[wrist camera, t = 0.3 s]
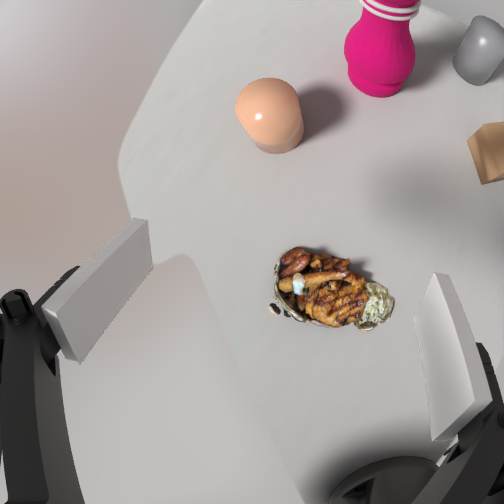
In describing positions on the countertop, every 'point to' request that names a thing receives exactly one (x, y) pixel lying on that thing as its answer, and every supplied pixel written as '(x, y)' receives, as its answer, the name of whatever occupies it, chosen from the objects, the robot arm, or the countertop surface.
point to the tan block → (488, 152)
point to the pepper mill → (381, 46)
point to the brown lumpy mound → (327, 292)
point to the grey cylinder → (480, 51)
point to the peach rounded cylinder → (271, 115)
